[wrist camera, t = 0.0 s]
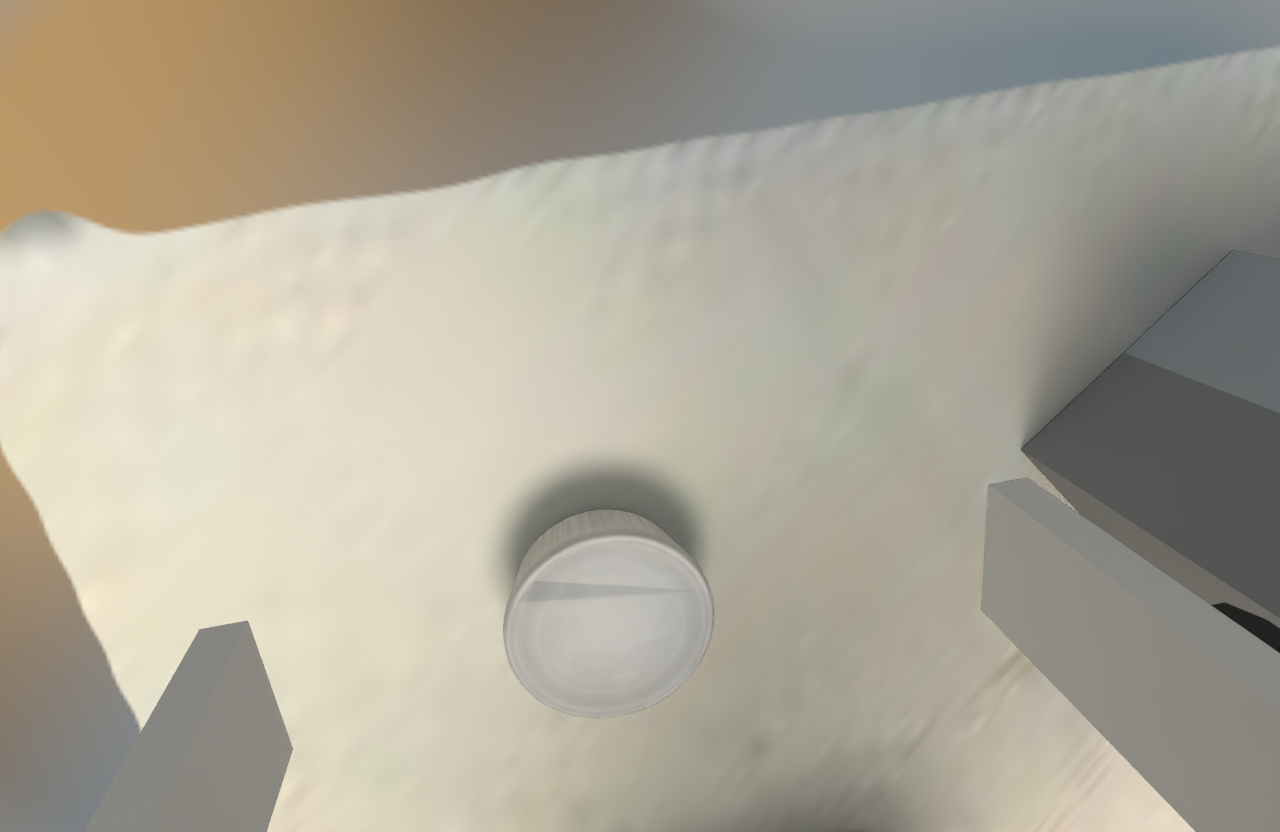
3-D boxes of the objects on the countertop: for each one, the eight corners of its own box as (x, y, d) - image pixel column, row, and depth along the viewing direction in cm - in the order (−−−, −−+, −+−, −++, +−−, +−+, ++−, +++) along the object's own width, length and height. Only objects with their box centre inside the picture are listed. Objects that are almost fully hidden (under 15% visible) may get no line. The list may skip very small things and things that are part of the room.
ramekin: (637, 454, 44) (654, 497, 39) (725, 597, 49) (751, 651, 44) (463, 555, 45) (458, 610, 40) (566, 688, 49) (573, 752, 44)
